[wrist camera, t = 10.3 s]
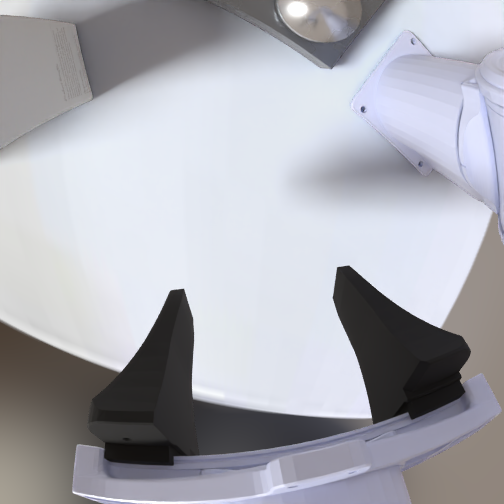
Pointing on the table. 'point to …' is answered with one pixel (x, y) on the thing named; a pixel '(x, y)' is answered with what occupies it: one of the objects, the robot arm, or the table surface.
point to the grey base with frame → (308, 23)
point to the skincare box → (38, 73)
